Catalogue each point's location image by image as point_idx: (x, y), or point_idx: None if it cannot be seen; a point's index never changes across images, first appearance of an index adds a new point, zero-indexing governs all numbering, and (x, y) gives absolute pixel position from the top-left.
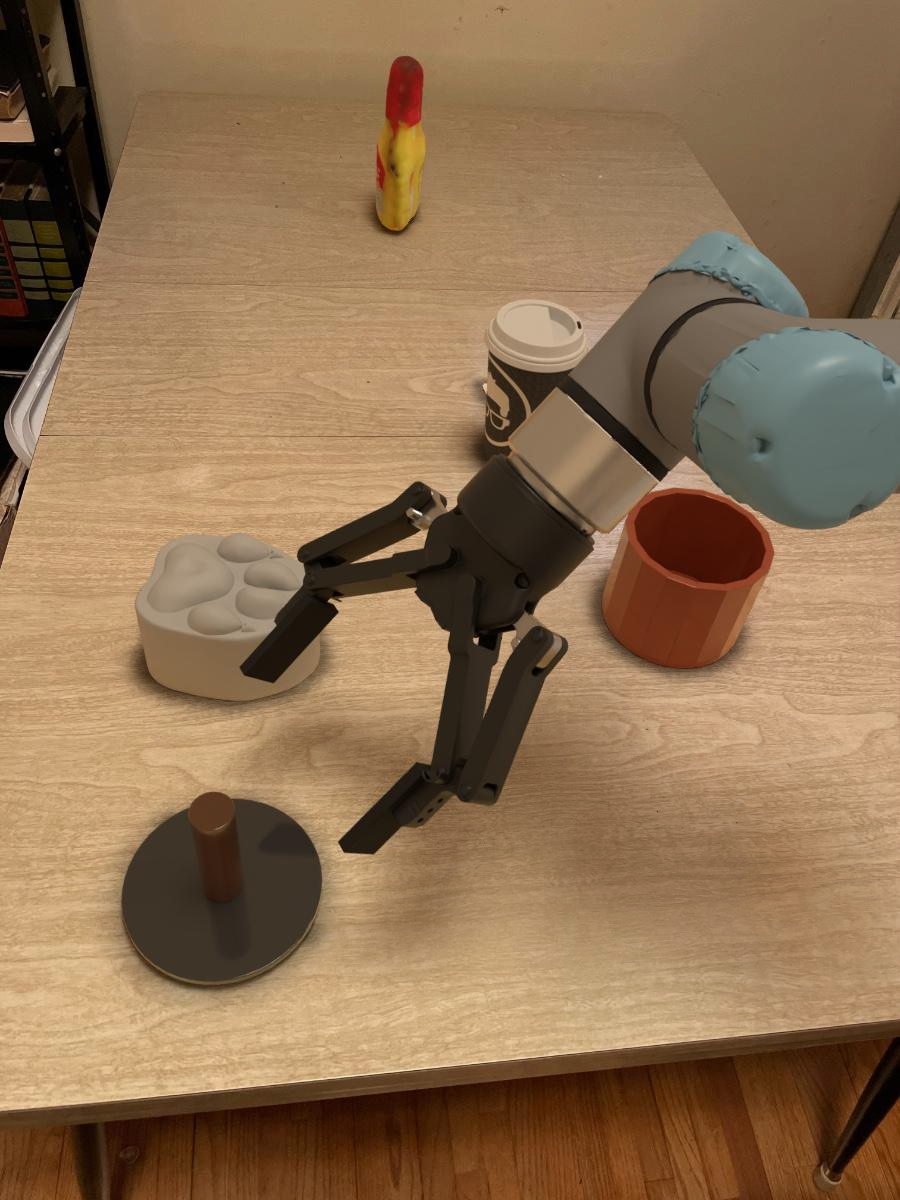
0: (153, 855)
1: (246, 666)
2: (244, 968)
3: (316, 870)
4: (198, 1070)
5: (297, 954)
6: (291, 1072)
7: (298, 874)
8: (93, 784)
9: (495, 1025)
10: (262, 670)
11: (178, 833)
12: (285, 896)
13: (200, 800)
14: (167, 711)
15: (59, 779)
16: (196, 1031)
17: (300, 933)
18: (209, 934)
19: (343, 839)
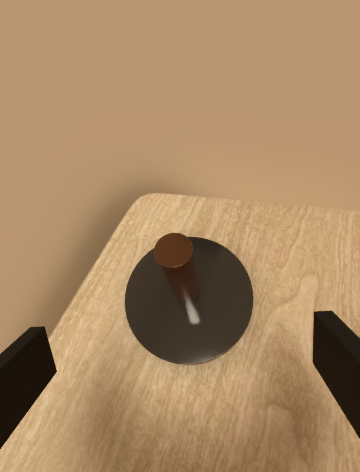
0: (223, 259)
1: (328, 317)
2: (131, 285)
3: (166, 356)
4: (107, 255)
5: None
6: (77, 294)
7: (170, 341)
8: (293, 244)
9: None
10: (321, 341)
11: (233, 276)
12: (159, 326)
13: (186, 244)
14: (354, 303)
15: (302, 228)
16: (123, 259)
17: (131, 325)
18: (159, 274)
19: (36, 331)
